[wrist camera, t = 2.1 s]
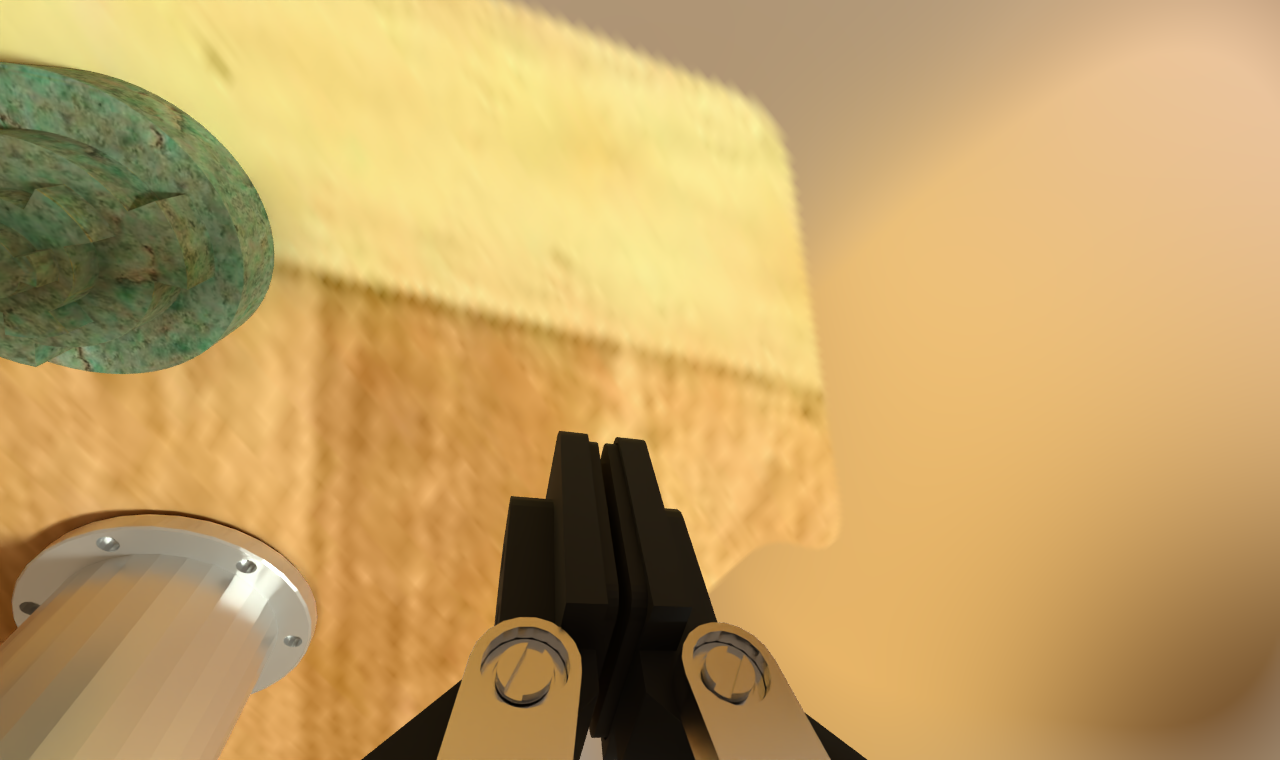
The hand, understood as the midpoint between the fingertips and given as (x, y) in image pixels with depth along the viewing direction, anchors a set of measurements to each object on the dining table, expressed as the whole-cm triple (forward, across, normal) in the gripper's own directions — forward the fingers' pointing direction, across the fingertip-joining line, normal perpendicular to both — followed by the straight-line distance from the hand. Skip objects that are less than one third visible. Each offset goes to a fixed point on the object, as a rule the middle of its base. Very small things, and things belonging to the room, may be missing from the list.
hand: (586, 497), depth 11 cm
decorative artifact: (+15, +16, +1) cm, 22 cm away
